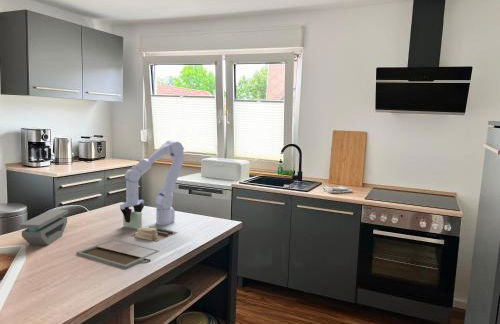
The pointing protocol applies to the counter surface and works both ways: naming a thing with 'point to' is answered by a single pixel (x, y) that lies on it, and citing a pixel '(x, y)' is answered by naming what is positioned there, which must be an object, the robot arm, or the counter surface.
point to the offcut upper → (147, 231)
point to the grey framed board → (114, 256)
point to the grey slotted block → (45, 227)
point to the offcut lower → (146, 236)
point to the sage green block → (134, 220)
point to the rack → (160, 234)
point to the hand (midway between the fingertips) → (132, 220)
